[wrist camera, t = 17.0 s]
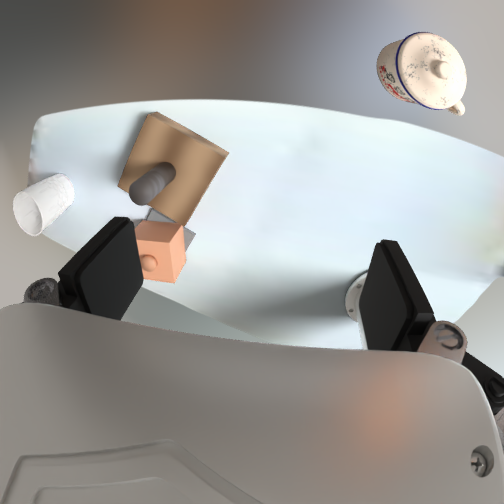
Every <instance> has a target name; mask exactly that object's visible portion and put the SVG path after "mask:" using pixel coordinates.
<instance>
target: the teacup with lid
mask: <svg viewBox="0 0 504 504" xmlns="http://www.w3.org/2000/svg"><path fill="white" fill-rule="evenodd" d="M377 73H378V76H379V79H380V81H381V83H382V85H383V86H384V88H385V89H386V90H387V91H388V92H389V93H390V94H391V95H393V96H394V97H396V98H397V99H400V100H402V101H406V102H411V103H416V104H420V105H422V106H424V107H426V108H429V109H434V110H442V109H447V110H449V111H450V112H451V113H453V114H455V115H458V116H461V115H463V113H464V112H465V108H464V105H463V104H462V102H461V101H460V99H461V97H462V96H463V94H464V91H465V87H466V70H465V66H464V63H463V61H462V59H461V57H460V55H459V54H458V52H457V51H456V49H455V48H454V47H453V46H452V45H451V44H450V43H449V42H448V41H446V40H445V39H443V38H442V37H440V36H438V35H435V34H432V33H428V32H418V33H413V34H411V35H409V36H408V37H406V38H405V39H402V40H399V41H396V42H393V43H391V44H389V45H387V46H386V47H385V48H383V50H382V51H381V52H380V54H379V56H378V59H377Z"/></svg>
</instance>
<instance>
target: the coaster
mask: <svg viewBox="0 0 504 504" xmlns="http://www.w3.org/2000/svg"><path fill="white" fill-rule="evenodd" d="M147 221H158V222H171V223H177V222H175V221H173V220H172V219H170V218H168V217H167V216H165V215H163V214H162V213H160V212H158V211H157V210H155V209H152V210H151V212H150V214H149V217H148V219H147ZM183 232H184V244H185V252H186V250H187V248H188V246H189V245H190V243H191V241H192V240H193V238H194V236H195V233H194V232H192V231H190V230H189V229H187V228H185V227H184V226H183Z"/></svg>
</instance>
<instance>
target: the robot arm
mask: <svg viewBox="0 0 504 504" xmlns="http://www.w3.org/2000/svg"><path fill="white" fill-rule="evenodd" d="M58 275H59V277H60V281H59V282H58V283H57V281H56V280H55V279H53V278H43V279H40V280H37V281H35V282H34V283H32V284H31V285H30V286H29V287H28V288H27V290H26V292H25V294H24V302H22V303H20V304H13V305H10V306H7V307H4V308H2V309H1V310H0V504H504V378H502V376H501V375H499V374H498V373H496V372H495V371H494V370H492V369H491V368H489V367H488V366H486V365H485V364H483V363H482V362H480V361H479V360H478V359H476V358H475V357H473V356H472V355H470V354H469V353H467V352H466V348H467V338H466V336H465V334H464V332H463V331H462V330H461V329H460V328H459V327H458V326H456V325H455V324H453V323H451V322H448V321H437V322H436V319H435V317H434V315H433V314H434V312H433V310H432V308H431V306H430V303H429V301H428V299H427V297H426V295H425V293H424V291H423V289H422V287H421V285H420V283H419V281H418V279H417V277H416V275H415V273H414V271H413V269H412V268H411V266H410V264H409V262H408V260H407V258H406V256H405V255H404V253H403V251H402V249H401V247H400V246H399V244H398V242H397V241H392V240H384V239H383V240H381V242H380V243H376V245H375V249H374V252H373V256H372V259H371V263H370V266H369V270H368V272H367V273H365V274H363V275H362V276H360V277H359V278H357V279H356V280H355V281H354V282H353V283H352V285H351V286H350V287H349V289H348V291H347V294H346V297H345V305H346V310H347V313H348V314H349V316H350V317H351V318H352V319H353V320H354V321H356V322H358V326H359V331H360V336H361V341H362V347H363V350H360V349H336V348H319V347H304V346H292V345H280V344H269V343H259V342H250V341H240V340H233V339H225V338H218V337H210V336H203V335H197V334H190V333H184V332H178V331H172V330H166V329H161V328H155V327H150V326H145V325H140V324H135V323H130V322H124V321H120V320H121V318H122V317H123V315H124V313H125V312H126V310H127V308H128V307H129V305H130V303H131V302H132V300H133V299H134V297H135V295H136V294H137V292H138V290H139V289H140V287H141V286H142V284H143V278H144V277H143V272H142V267H141V262H140V257H139V251H138V246H137V240H136V235H135V229H134V224H133V222H132V221H130V219H129V218H128V217H114V218H113V219H112V220H110V221H109V222H108V223H107V224H106V225H105V226H104V227H103V228H102V229H101V230H100V231H99V232H98V233H97V234H96V235H95V236H94V237H92V238H91V239H90V240H89V241H88V242H87V243H86V244H85V245H84V246H83V247H82V248H81V249H80V250H79V251H78V252H77V253H76V254H75V255H74V257H72V259H71V260H70V261H69V262H68V263H67V264H66V265H65V266H64V267H63V268H62V269H61V270H60V271H59V272H58Z"/></svg>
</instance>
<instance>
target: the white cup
mask: <svg viewBox="0 0 504 504" xmlns="http://www.w3.org/2000/svg"><path fill="white" fill-rule="evenodd" d="M74 197H75V192H74V187H73V185H72V183H71V181H70V179H69V178H67V177H66V176H65V175H63V174H59V173H58V174H56V175H53V176H51V177H49V178H46V179H44V180H41V181H39V182H37V183H35V184H33V185H31V186H29V187H28V188H26V189H24V190H22V191H20V192H19V193H17V194H16V195H15V197H14V199H13V212H14V216H15V218H16V221H17V223H18V224H19V226H20V227H21V229H22V230H23V231H24V232H25V233H27V234H28V235H31V236H38V235H39V234H40V233H41V232H42V231H44V230H45V229H46V228H47V227H48V226H49V225H50V224H51V223H52V222H54V221H55V220H56V219H57V218H58V217H59V216H60V215H61V214H62V213H63V212H64V211H65V210H66V209H67V208H69V207H70V206H71V204H72V203H73V202H74Z"/></svg>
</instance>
